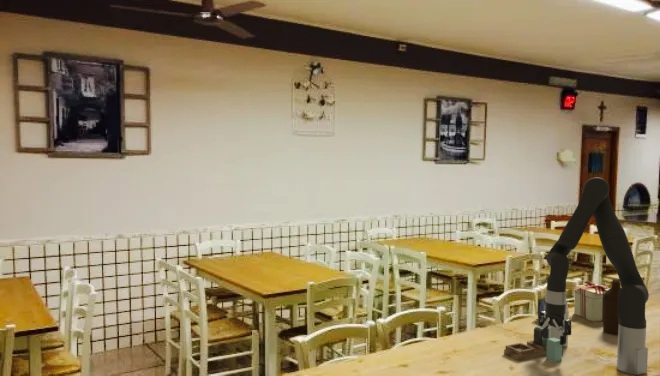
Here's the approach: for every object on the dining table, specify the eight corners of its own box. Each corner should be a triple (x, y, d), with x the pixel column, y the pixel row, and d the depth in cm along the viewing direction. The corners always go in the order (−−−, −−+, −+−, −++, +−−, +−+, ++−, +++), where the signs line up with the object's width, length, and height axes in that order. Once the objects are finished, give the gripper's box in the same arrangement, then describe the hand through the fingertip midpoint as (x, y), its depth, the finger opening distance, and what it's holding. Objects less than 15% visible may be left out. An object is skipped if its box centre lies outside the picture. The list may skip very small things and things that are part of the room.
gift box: (567, 314, 290) (568, 281, 289) (595, 311, 295) (597, 279, 294) (591, 323, 274) (592, 288, 273) (621, 320, 279) (622, 286, 278)
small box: (536, 319, 280) (537, 298, 280) (546, 317, 283) (546, 297, 283) (553, 324, 271) (553, 303, 270) (563, 323, 274) (563, 302, 273)
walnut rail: (557, 352, 231) (558, 328, 231) (518, 360, 221) (519, 335, 221) (542, 346, 238) (543, 323, 238) (504, 354, 228) (504, 330, 228)
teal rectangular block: (563, 359, 223) (563, 340, 222) (554, 361, 220) (555, 341, 220) (554, 356, 226) (555, 337, 226) (546, 358, 224) (547, 338, 224)
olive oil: (621, 337, 252) (623, 282, 251) (597, 331, 261) (599, 278, 259) (631, 332, 259) (633, 279, 258) (608, 327, 267) (609, 275, 266)
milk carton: (567, 347, 238) (569, 303, 237) (550, 345, 240) (551, 302, 239) (564, 341, 245) (565, 299, 244) (547, 340, 247) (548, 298, 246)
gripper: (577, 305, 218) (575, 345, 219) (548, 296, 230) (546, 334, 231) (563, 306, 214) (561, 348, 215) (535, 298, 227) (533, 337, 228)
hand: (553, 341), depth 223 cm, fingers open, 8 cm apart
